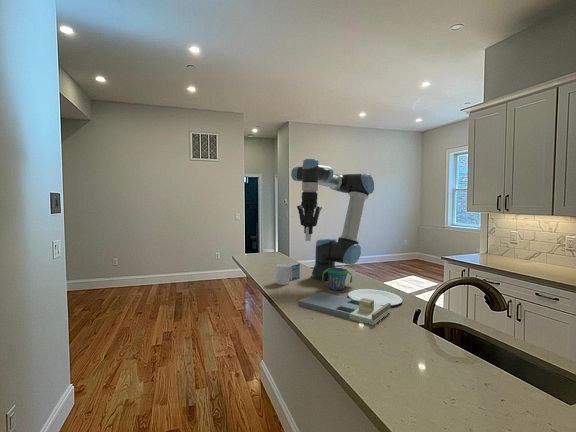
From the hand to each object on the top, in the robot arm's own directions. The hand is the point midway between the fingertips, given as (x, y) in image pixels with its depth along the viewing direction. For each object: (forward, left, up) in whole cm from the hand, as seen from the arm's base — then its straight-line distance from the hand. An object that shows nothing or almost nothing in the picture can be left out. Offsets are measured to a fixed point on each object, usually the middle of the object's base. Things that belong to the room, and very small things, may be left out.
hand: (308, 240), depth 154 cm
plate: (-15, +29, -27) cm, 42 cm away
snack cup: (-19, +7, -27) cm, 33 cm away
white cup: (-8, -20, -27) cm, 34 cm away
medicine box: (-20, -22, -27) cm, 40 cm away
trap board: (+7, +24, -26) cm, 36 cm away
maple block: (+8, +34, -24) cm, 42 cm away
